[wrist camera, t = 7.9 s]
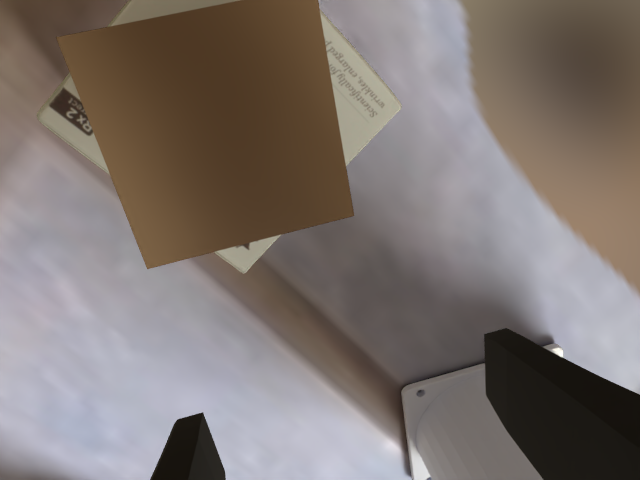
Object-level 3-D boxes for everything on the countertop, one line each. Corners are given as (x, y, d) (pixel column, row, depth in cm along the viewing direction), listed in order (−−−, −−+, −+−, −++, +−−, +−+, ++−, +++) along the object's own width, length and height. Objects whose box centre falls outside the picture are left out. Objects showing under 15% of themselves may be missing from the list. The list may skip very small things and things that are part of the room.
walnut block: (287, -1, 13) (315, -16, 9) (320, 172, 15) (354, 215, 11) (101, 36, 12) (56, 37, 9) (163, 210, 14) (147, 269, 11)
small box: (364, 91, 19) (411, 109, 15) (237, 226, 21) (243, 282, 16) (215, -74, 16) (216, -116, 12) (74, 98, 17) (24, 122, 13)
